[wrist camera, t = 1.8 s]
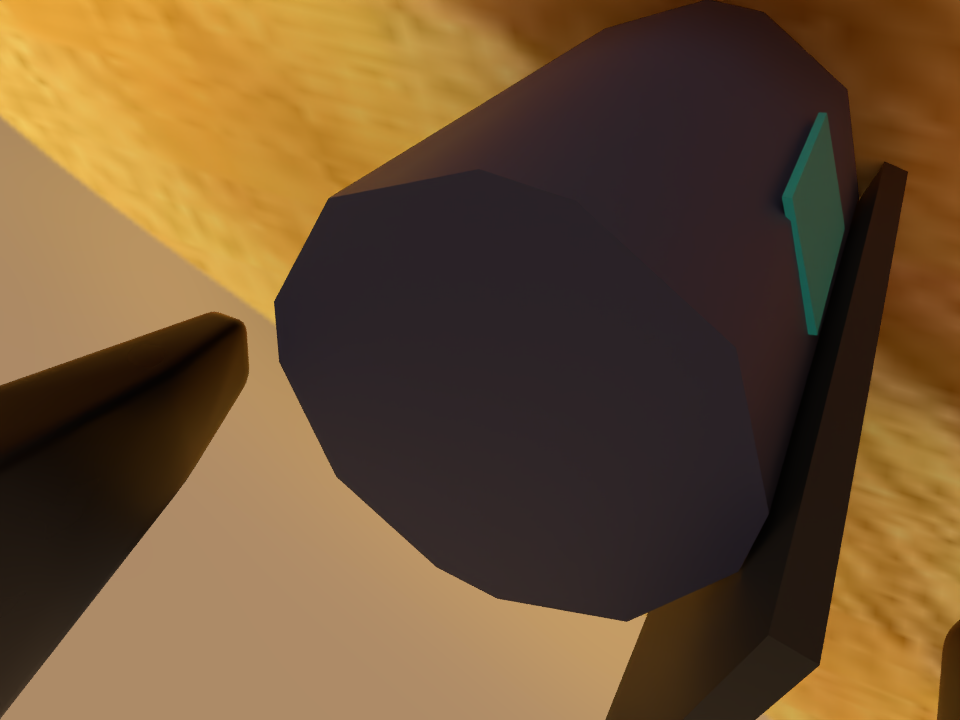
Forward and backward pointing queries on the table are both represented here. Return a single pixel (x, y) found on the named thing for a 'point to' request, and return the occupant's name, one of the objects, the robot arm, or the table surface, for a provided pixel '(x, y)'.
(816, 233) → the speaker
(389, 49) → the table surface
